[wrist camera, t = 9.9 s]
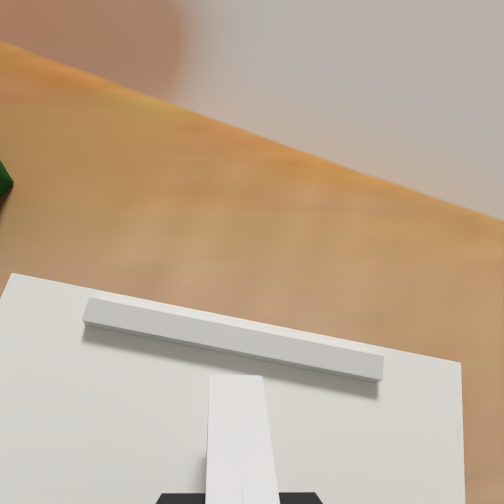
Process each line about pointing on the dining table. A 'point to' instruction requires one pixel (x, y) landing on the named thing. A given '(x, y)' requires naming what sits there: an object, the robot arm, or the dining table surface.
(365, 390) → the cover
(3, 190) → the milk carton
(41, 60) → the dining table surface
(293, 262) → the dining table surface
